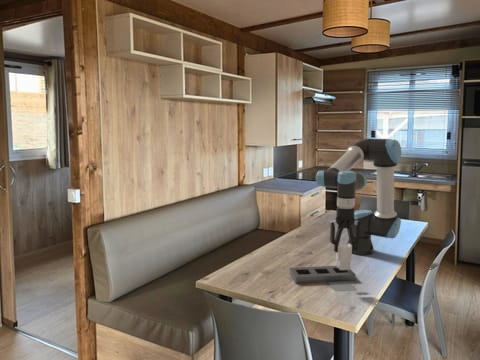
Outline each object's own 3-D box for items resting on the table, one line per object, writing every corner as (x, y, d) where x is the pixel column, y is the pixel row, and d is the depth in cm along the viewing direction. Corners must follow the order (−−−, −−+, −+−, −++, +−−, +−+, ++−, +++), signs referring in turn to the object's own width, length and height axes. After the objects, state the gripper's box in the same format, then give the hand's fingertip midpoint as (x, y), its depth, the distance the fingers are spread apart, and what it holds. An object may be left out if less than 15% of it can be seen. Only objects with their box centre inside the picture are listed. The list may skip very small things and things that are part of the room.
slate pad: (349, 283, 189) (349, 281, 189) (357, 292, 180) (357, 290, 179) (327, 284, 188) (328, 282, 188) (335, 293, 178) (335, 291, 178)
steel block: (346, 265, 185) (347, 244, 183) (350, 269, 180) (351, 247, 179) (336, 266, 184) (337, 244, 183) (339, 270, 180) (340, 247, 178)
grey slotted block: (345, 273, 202) (346, 265, 201) (355, 282, 190) (355, 274, 189) (289, 275, 198) (289, 267, 198) (295, 285, 187) (295, 277, 186)
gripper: (328, 209, 174) (326, 262, 177) (369, 208, 175) (366, 261, 179) (323, 205, 181) (321, 256, 184) (361, 204, 183) (359, 255, 186)
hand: (343, 258), depth 182 cm, fingers closed on steel block, 5 cm apart
